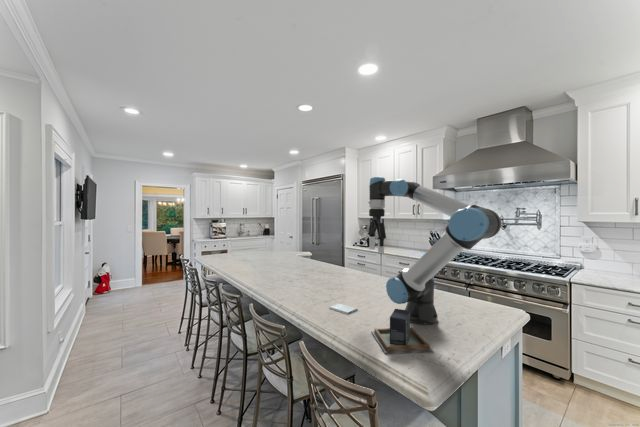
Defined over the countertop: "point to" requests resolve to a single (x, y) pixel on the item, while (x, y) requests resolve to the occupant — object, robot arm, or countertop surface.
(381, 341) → the wooden picture frame
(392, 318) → the small box
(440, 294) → the countertop surface
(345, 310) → the hard drive
